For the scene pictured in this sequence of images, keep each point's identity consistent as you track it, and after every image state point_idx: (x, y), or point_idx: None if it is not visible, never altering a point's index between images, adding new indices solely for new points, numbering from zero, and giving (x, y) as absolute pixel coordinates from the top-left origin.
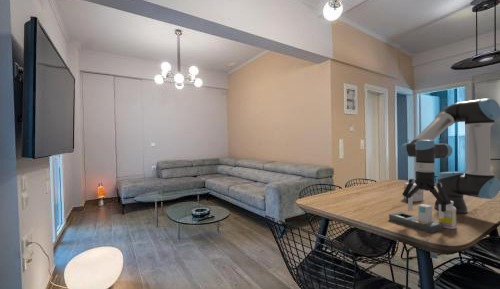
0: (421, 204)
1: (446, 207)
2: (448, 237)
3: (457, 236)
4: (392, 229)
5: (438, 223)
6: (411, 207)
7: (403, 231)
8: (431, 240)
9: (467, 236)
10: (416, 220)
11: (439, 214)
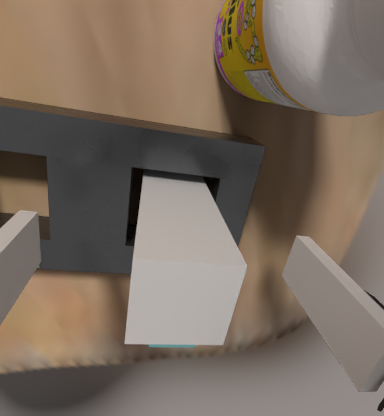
0: (134, 298)
1: (382, 99)
2: (290, 246)
3: (323, 199)
4: (82, 345)
5: (246, 183)
6: (24, 249)
7: None
8: (243, 327)
9: (364, 156)
10: (124, 238)
11: (303, 300)
